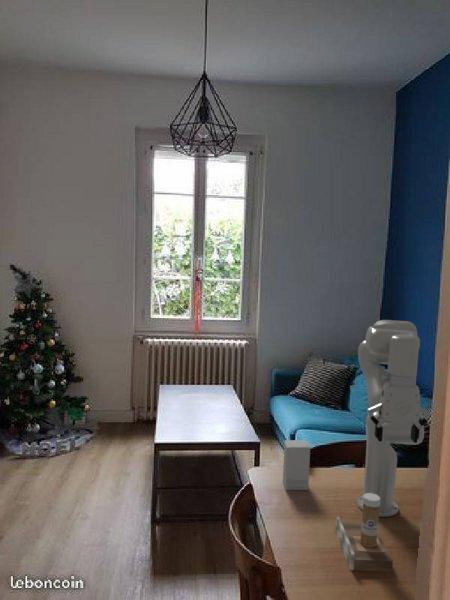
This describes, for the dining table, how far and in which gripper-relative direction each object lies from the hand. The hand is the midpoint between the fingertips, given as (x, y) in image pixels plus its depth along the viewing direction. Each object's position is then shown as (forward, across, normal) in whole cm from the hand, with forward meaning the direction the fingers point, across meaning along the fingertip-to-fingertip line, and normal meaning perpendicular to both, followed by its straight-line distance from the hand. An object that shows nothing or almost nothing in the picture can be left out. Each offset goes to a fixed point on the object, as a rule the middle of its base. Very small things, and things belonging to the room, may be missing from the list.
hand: (396, 440), depth 143 cm
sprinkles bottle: (+27, -7, -6) cm, 29 cm away
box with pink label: (+30, -8, -4) cm, 32 cm away
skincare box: (+31, -22, +32) cm, 49 cm away
